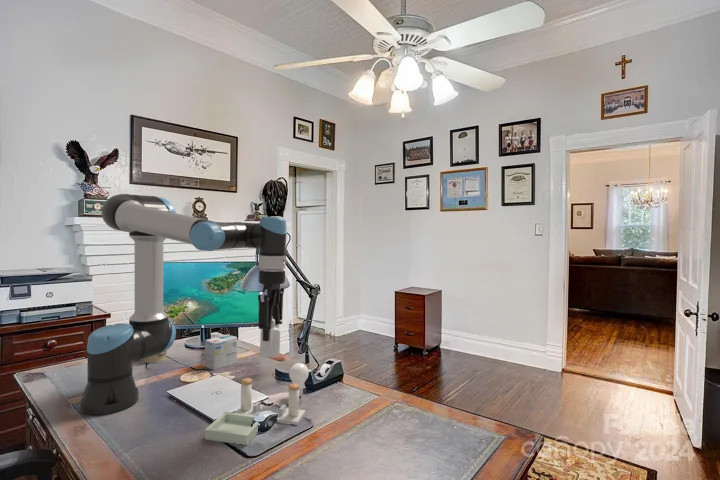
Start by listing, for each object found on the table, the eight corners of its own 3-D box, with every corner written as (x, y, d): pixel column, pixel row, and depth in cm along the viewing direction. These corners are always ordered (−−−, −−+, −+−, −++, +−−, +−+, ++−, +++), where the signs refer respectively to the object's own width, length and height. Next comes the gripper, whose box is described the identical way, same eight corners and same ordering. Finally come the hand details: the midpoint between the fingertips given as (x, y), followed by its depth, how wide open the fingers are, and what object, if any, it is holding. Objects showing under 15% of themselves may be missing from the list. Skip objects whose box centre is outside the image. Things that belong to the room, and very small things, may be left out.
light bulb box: (227, 359, 161) (227, 333, 160) (237, 363, 157) (238, 336, 157) (204, 366, 152) (204, 339, 152) (214, 370, 148) (214, 342, 148)
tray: (204, 439, 102) (204, 429, 102) (224, 420, 112) (225, 411, 112) (247, 445, 100) (247, 435, 100) (263, 425, 110) (264, 416, 110)
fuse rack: (232, 416, 114) (233, 383, 114) (243, 405, 121) (244, 374, 121) (297, 425, 110) (298, 391, 110) (305, 413, 117) (306, 381, 117)
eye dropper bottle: (264, 351, 118) (265, 312, 117) (281, 354, 117) (283, 314, 116) (257, 356, 114) (258, 316, 113) (275, 359, 112) (276, 318, 112)
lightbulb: (304, 401, 125) (305, 368, 125) (285, 399, 126) (286, 366, 126) (310, 393, 131) (311, 361, 131) (292, 391, 132) (293, 359, 132)
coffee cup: (160, 364, 153) (160, 334, 153) (137, 363, 153) (137, 333, 153) (172, 356, 162) (172, 327, 162) (150, 355, 163) (150, 327, 162)
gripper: (272, 274, 105) (270, 359, 106) (294, 267, 122) (292, 341, 123) (246, 272, 106) (244, 357, 107) (272, 265, 123) (270, 339, 124)
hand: (270, 348), depth 115 cm, fingers closed on eye dropper bottle, 4 cm apart
